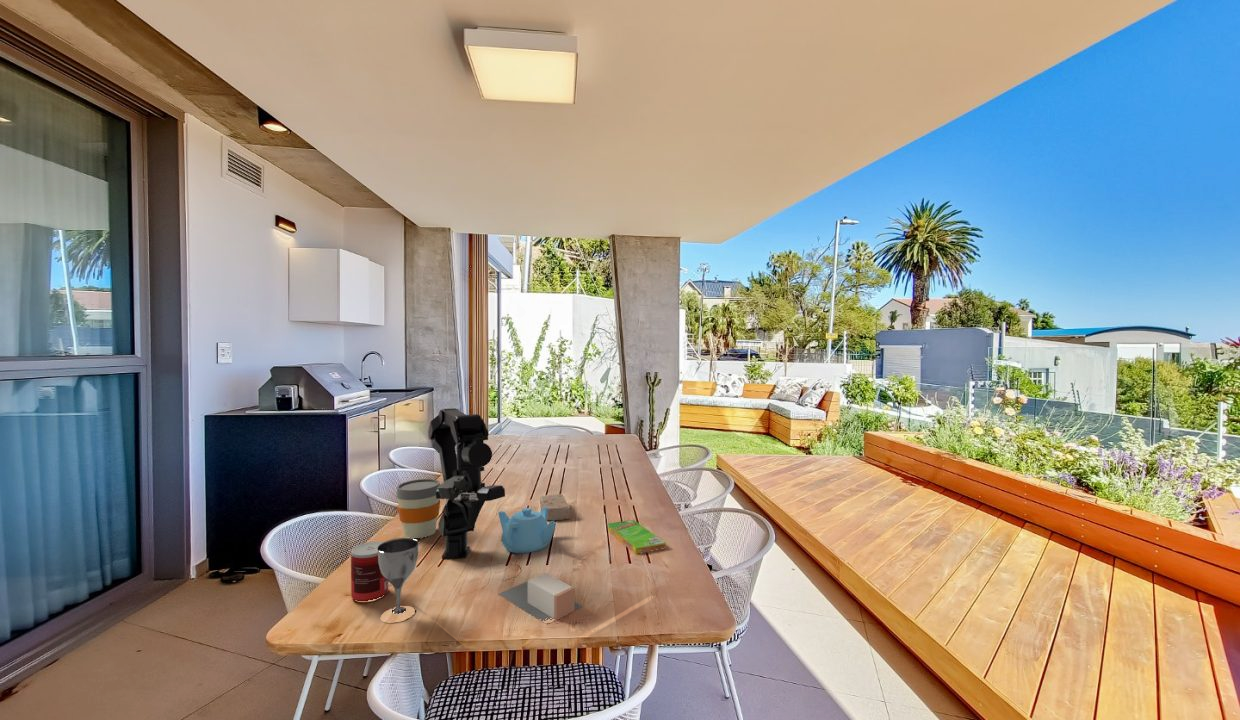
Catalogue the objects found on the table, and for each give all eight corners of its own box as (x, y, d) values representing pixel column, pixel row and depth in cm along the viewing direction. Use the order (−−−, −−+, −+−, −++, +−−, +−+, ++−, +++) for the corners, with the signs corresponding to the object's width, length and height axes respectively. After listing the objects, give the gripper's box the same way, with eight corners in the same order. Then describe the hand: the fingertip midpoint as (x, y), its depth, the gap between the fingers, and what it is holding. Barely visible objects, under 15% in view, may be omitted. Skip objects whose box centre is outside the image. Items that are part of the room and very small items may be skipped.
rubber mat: (497, 596, 113) (497, 593, 113) (533, 581, 120) (533, 579, 120) (547, 627, 101) (547, 624, 100) (583, 609, 108) (583, 606, 108)
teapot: (497, 538, 147) (497, 502, 146) (547, 533, 151) (547, 498, 151) (501, 559, 132) (501, 520, 132) (556, 553, 137) (556, 515, 136)
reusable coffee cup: (450, 527, 154) (449, 480, 153) (424, 543, 142) (422, 492, 141) (416, 523, 157) (414, 477, 157) (387, 539, 145) (386, 489, 145)
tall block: (527, 580, 109) (556, 596, 102) (545, 573, 113) (574, 588, 106) (527, 602, 109) (556, 620, 102) (545, 594, 113) (574, 610, 106)
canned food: (378, 583, 118) (378, 538, 118) (394, 594, 113) (394, 547, 113) (345, 595, 112) (344, 548, 112) (360, 607, 107) (360, 558, 107)
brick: (539, 506, 176) (539, 493, 176) (562, 504, 179) (562, 492, 179) (545, 523, 161) (545, 509, 160) (570, 521, 163) (571, 507, 163)
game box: (635, 558, 136) (605, 529, 155) (665, 552, 141) (632, 525, 159) (635, 547, 136) (605, 520, 155) (665, 542, 140) (633, 516, 159)
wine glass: (423, 604, 109) (423, 537, 109) (409, 624, 101) (409, 552, 101) (387, 604, 109) (387, 537, 108) (370, 624, 101) (370, 552, 100)
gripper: (417, 468, 122) (419, 533, 121) (471, 469, 113) (474, 538, 112) (452, 462, 132) (454, 522, 130) (505, 462, 123) (508, 526, 122)
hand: (471, 527), depth 123 cm, fingers closed
